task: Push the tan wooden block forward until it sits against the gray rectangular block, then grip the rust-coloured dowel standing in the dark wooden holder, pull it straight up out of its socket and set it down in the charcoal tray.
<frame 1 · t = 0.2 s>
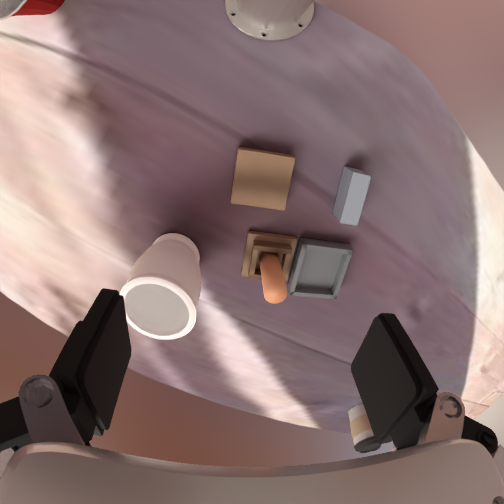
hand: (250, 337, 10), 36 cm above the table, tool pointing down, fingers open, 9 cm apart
plastic cup: (52, 1, 25), on the table
tray: (317, 265, 51), on the table
jar: (175, 254, 49), on the table
tan wooden block: (260, 175, 44), on the table
holder: (268, 255, 50), on the table
coffee cup: (358, 409, 77), on the table
dowel: (268, 258, 49), point 1 cm above the table, touching holder
gray rectangular block: (346, 191, 45), on the table
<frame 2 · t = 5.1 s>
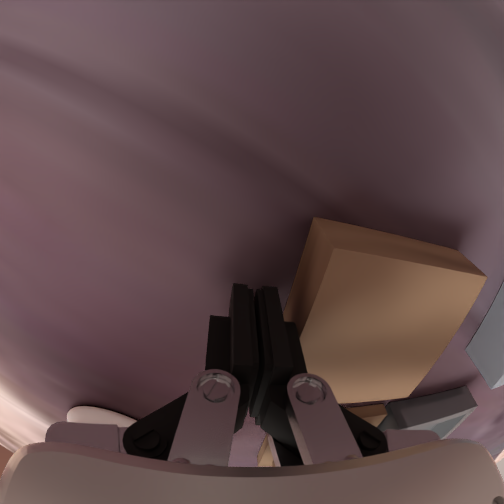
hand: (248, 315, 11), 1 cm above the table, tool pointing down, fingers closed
tray: (404, 426, 20), on the table
jar: (117, 430, 18), on the table
tan wooden block: (362, 305, 14), on the table
holder: (316, 435, 19), on the table
gray rectangular block: (502, 303, 14), on the table
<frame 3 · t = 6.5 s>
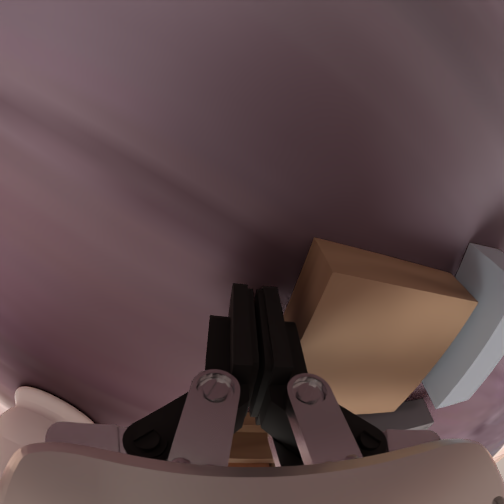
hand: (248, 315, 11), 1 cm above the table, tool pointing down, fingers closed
tray: (351, 437, 20), on the table
jar: (59, 413, 18), on the table
tan wooden block: (355, 322, 14), on the table
holder: (244, 438, 18), on the table
gray rectangular block: (456, 308, 14), on the table
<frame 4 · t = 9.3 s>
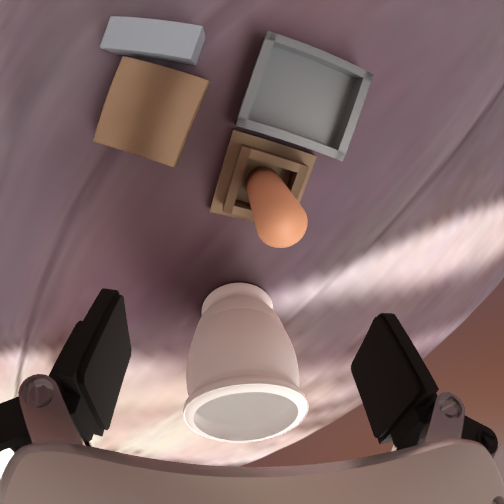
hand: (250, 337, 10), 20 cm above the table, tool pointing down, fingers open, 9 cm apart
tray: (301, 96, 24), on the table
jar: (237, 309, 35), on the table
tan wooden block: (154, 109, 24), on the table
holder: (261, 180, 28), on the table
dowel: (262, 183, 27), point 1 cm above the table, touching holder
gray rectangular block: (159, 44, 21), on the table
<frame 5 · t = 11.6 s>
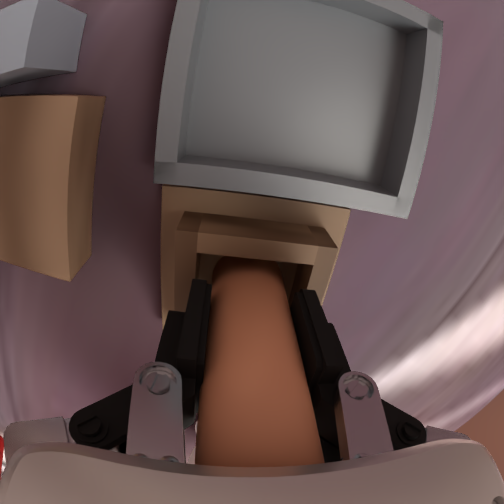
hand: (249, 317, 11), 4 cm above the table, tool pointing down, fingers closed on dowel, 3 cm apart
tray: (300, 81, 11), on the table
tan wooden block: (35, 169, 12), on the table
holder: (245, 268, 15), on the table
dowel: (246, 279, 14), point 1 cm above the table, touching gripper, holder
gray rectangular block: (20, 56, 8), on the table
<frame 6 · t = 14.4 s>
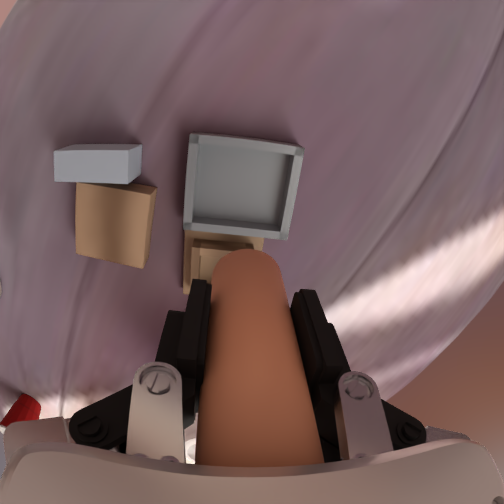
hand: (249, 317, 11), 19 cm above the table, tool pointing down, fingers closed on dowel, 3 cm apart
plastic cup: (32, 401, 47), on the table
tray: (240, 182, 28), on the table
jar: (227, 358, 40), on the table
tan wooden block: (118, 215, 29), on the table
holder: (221, 262, 32), on the table
dowel: (246, 279, 14), point 17 cm above the table, touching gripper
gray rectangular block: (105, 158, 26), on the table
when the fingers open (5 cm above the table, at t = 17.4 s): dowel drops 1 cm, resting on tray.
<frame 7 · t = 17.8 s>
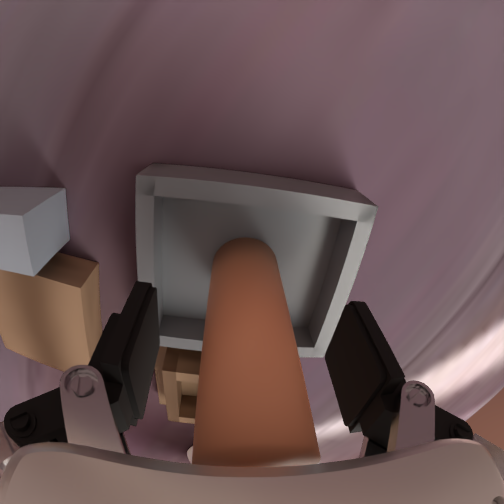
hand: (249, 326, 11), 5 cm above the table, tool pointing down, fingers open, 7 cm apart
tray: (245, 258, 15), on the table
tan wooden block: (52, 296, 17), on the table
holder: (214, 369, 19), on the table
dowel: (244, 266, 15), point 1 cm above the table, touching tray
gray rectangular block: (17, 210, 13), on the table
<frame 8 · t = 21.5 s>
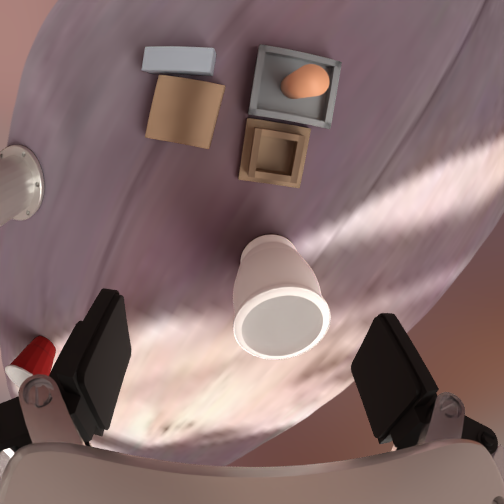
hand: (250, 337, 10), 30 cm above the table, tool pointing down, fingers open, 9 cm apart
plastic cup: (46, 345, 51), on the table
tray: (292, 87, 32), on the table
jar: (268, 259, 44), on the table
tan wooden block: (187, 110, 34), on the table
holder: (273, 152, 36), on the table
dowel: (293, 86, 32), point 1 cm above the table, touching tray
gray rectangular block: (182, 63, 30), on the table
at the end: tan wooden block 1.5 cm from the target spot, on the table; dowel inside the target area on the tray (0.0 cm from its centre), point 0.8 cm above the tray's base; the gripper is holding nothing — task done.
